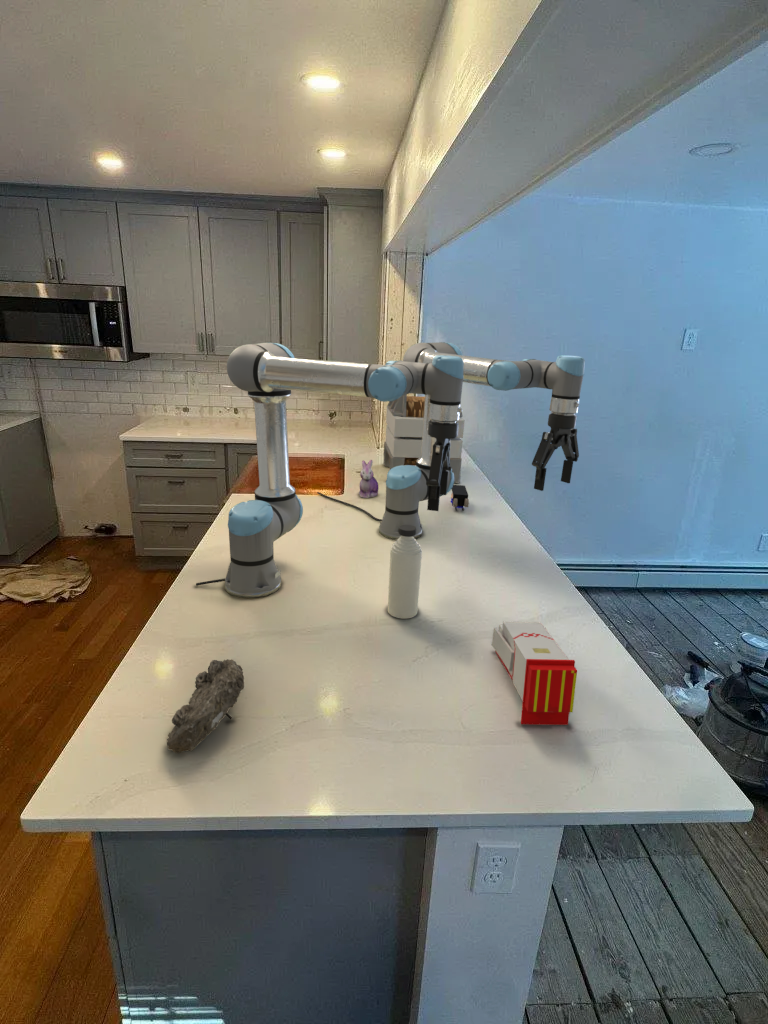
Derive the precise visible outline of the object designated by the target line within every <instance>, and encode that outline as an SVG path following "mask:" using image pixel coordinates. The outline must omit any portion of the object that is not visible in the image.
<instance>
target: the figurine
mask: <svg viewBox="0 0 768 1024" xmlns="http://www.w3.org/2000/svg"><path fill="white" fill-rule="evenodd" d="M373 463H374V461H373V459H370V460H369V461H368V462H366V461H365V460H362V461H361V471H360V473H359V475H360V478H361V480H360V482H359V492H358V495H359V497H360V498H365V499H369V498H374V497H376V496H378V494H379V489H380V488H379V487H380V486H379V482H378V480H377V479H376V478H375V477H374V472H373V468H372V466H373Z"/></svg>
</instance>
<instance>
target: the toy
mask: <svg viewBox="0 0 768 1024" xmlns="http://www.w3.org/2000/svg"><path fill="white" fill-rule="evenodd" d="M491 646H492V647H493V649H494V652H495V654H496V656H497V657H498V659H499V661H500V662H501V664H502V666H503V668H504V669H505V671H506V672H507V675H508V676H509V678H510V679H511V681H512V684H513V685H514V687H515V689H516V691H517V693H518V695H519V697H520V699H521V702H522V703H521V715H520V725H537V726H538V725H539V726H541V725H543V726H568V725H569V719H570V713H573V712H574V703H575V694H576V685H577V678H578V677H577V676H578V669H577V668H576V667H575V664H576V660H575V659H569V657H568V656H567V655H566V653H565V651H563V650H562V648H561V647H560V646H559V644H558V643H557V642H556V640H555V639H554V637H553V636H552V635H551V633H550V632H549V631H548V629H547V628H546V627H545V625H544V624H543V622H541V621H502V623H499V624H498V628H497V627H493V630H492V640H491Z"/></svg>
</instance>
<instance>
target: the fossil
mask: <svg viewBox="0 0 768 1024" xmlns="http://www.w3.org/2000/svg"><path fill="white" fill-rule="evenodd" d="M243 670H244V669H243V667H242V665H240V664H237V662H236V661H235V660H234V659H232V658H231V659H227V658H226V659H224V660H223V661H222V660H217V659H212V660H211V661H210V663H209V665H208V666H207V671H201V672H199V673H198V674H197V675H196V676H195V680H194V684H195V685H194V687H195V689H194V690H193V693H192V694H191V697H190V698H189V700H188V704H184V705H182V706H181V707H180V709H177V710H176V711H175V713H174V715H173V716H172V718H171V723H172V724H173V727H172V730H171V731H170V732H168V734H167V738H166V741H167V742H166V745H167V749H168V750H169V751H173V752H174V753H176V754H178V753H182V752H188V751H189V752H192V751H193V750H195V748H196V747H197V746H199V744H200V743H201V742H203V741H204V740H205V739H206V738H207V737H208V736H209V735H210V734H211V733H212V732H214V730H215V729H217V727H218V726H219V724H220V722H221V721H222V720H223V719H224V718H225V716H226V717H227V719H229V720H233V717H232V715H230V714H229V710H230V709H231V708H234V706H235V704H236V703H237V702H238V699H239V697H240V695H241V693H242V691H243V690H245V689H244V688H245V675H244V671H243Z"/></svg>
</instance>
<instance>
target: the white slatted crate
mask: <svg viewBox="0 0 768 1024" xmlns="http://www.w3.org/2000/svg"><path fill="white" fill-rule="evenodd" d="M387 403H388V404H387V405H386V413H385V414H386V415H385V423H386V428H385V438H384V442H383V466H384V467H388V468H389V470H390V469H392V468H394V467H396V466H401V465H404V466H405V465H413V466H416V461H417V459H418V458H420V457H421V449H422V434H423V419H424V404H425V396H415V395H414V396H413V395H412V396H411V395H408V394H407V395H404V396H402V397H400V398H398V399H396V400H394V401H388V402H387ZM459 408H461V406H460V407H459ZM459 413H460V415H459V420H458V421H456V422H458V423H459V428H458V436H457V437H456V438H453V439H450V444H451V446H450V465H449V466H450V467H451V469H452V473H454V484H455V483H456V484H459V483H461V472H462V461H463V460H462V453H463V442H464V441H463V440H462V439H463V438H464V431H465V430H464V429H465V419H464V418H463V411H462V412H459Z"/></svg>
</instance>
